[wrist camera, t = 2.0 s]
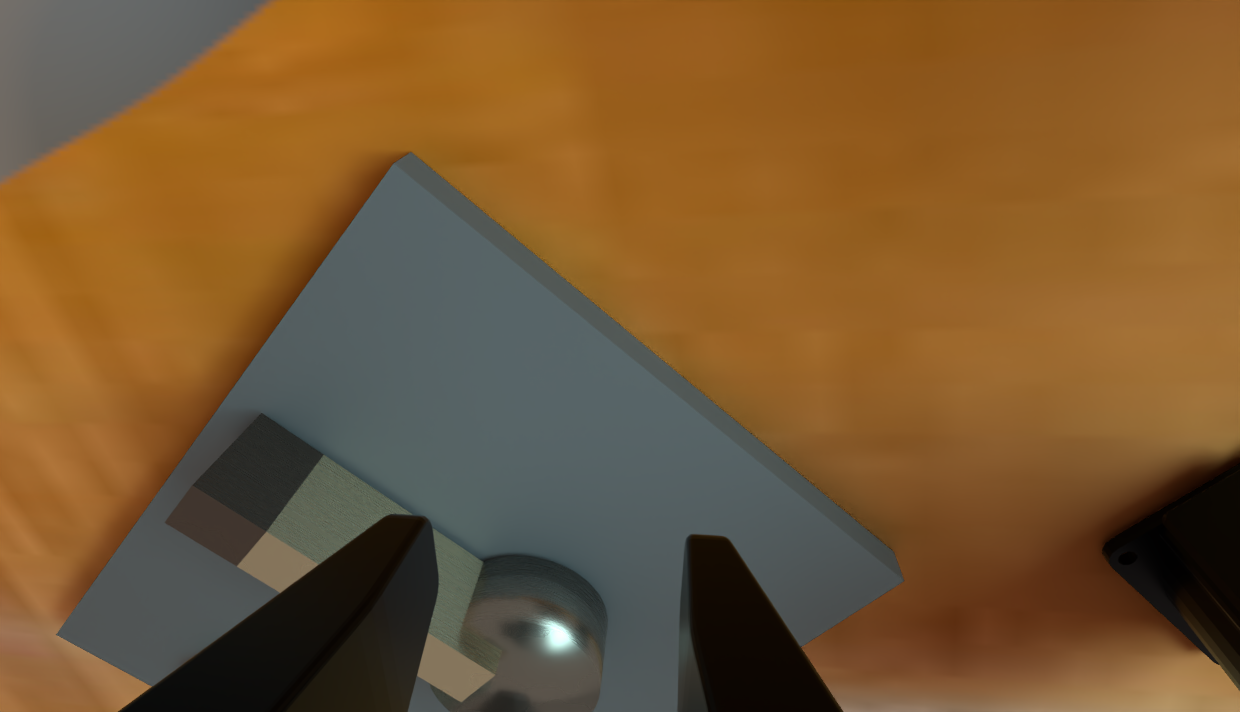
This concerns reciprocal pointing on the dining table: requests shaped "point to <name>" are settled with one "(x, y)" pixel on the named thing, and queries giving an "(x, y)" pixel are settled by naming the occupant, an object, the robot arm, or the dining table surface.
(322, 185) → the dining table surface
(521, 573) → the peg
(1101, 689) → the dining table surface
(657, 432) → the board
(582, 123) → the dining table surface
